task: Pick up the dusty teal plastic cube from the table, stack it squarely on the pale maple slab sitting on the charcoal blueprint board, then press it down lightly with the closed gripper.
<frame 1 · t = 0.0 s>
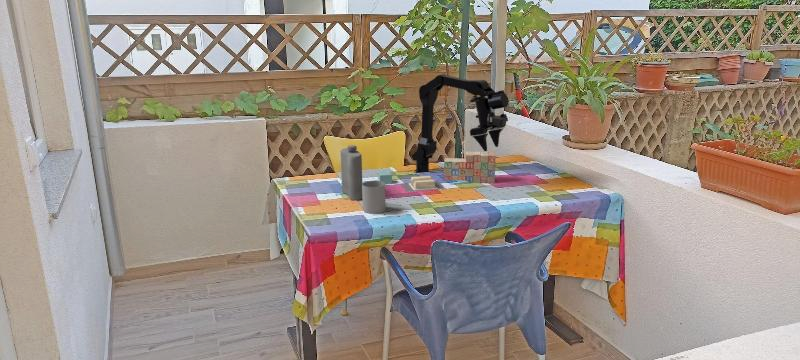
hand: (491, 148, 237), 15 cm above the table, tool pointing down, fingers open, 9 cm apart
stack of blocks: (469, 181, 248), on the table
cup: (374, 210, 213), on the table
flask: (353, 195, 231), on the table
teal cube: (385, 185, 244), on the table
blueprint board: (422, 188, 238), on the table
maple slab: (422, 186, 238), point 1 cm above the table, touching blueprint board
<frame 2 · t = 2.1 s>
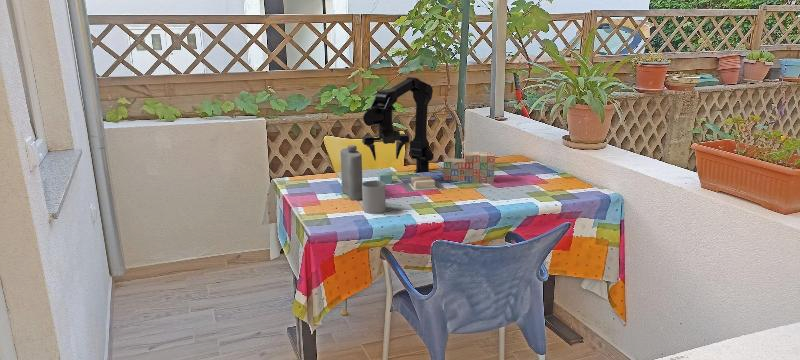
hand: (386, 159, 240), 11 cm above the table, tool pointing down, fingers open, 9 cm apart
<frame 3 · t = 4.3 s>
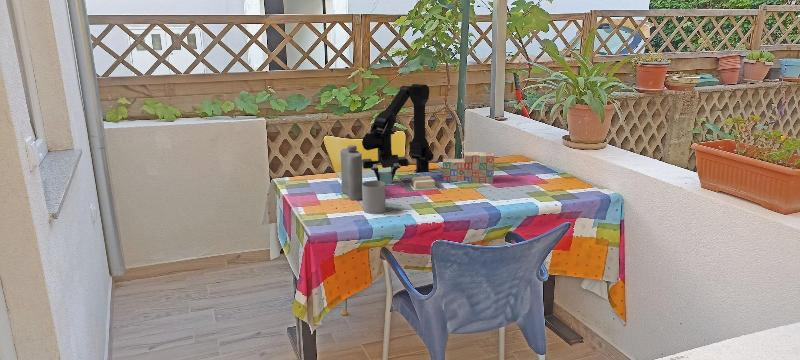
hand: (385, 182, 243), 1 cm above the table, tool pointing down, fingers closed on teal cube, 5 cm apart
teal cube: (385, 184, 244), on the table, touching gripper
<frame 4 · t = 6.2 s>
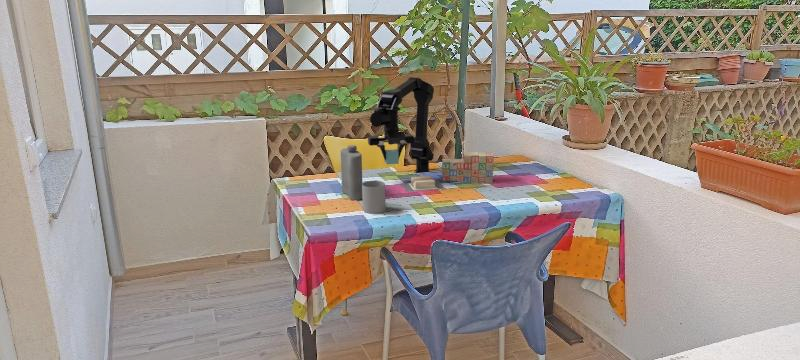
hand: (391, 160, 240), 11 cm above the table, tool pointing down, fingers closed on teal cube, 5 cm apart
teal cube: (391, 162, 240), point 10 cm above the table, touching gripper
when the fingers open (6 cm above the table, at t = 8.2 s): teal cube drops 1 cm, resting on maple slab.
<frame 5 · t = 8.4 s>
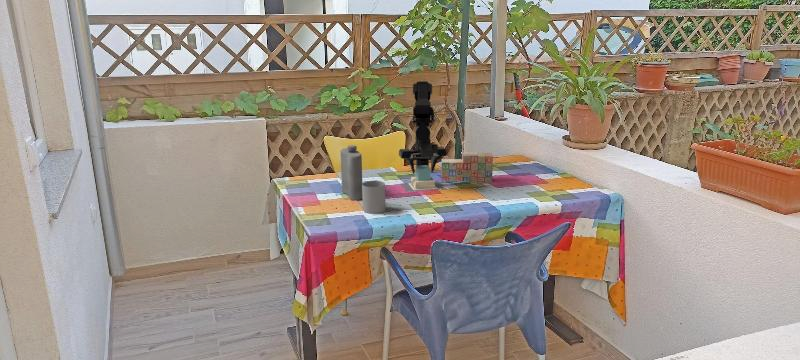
hand: (422, 173, 236), 6 cm above the table, tool pointing down, fingers open, 7 cm apart
teal cube: (422, 179, 237), point 4 cm above the table, touching maple slab
maple slab: (422, 186, 238), point 1 cm above the table, touching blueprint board, teal cube
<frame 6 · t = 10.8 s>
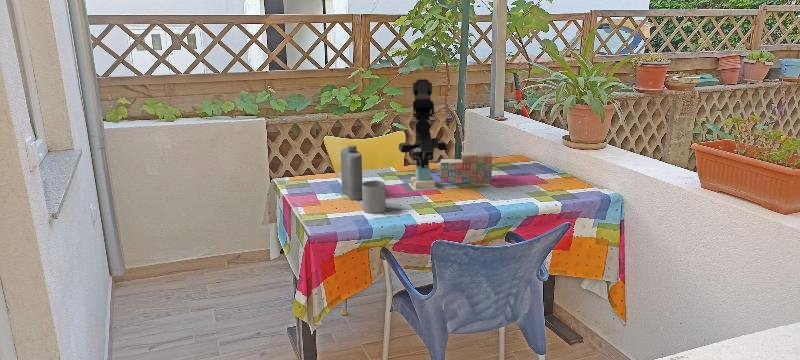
hand: (422, 167, 236), 9 cm above the table, tool pointing down, fingers closed, pressing on teal cube
teal cube: (422, 179, 237), point 4 cm above the table, touching gripper, maple slab
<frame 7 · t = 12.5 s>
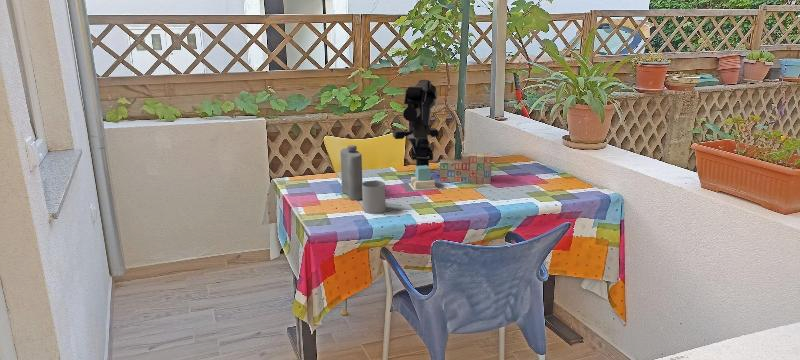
hand: (415, 153, 246), 12 cm above the table, tool pointing down, fingers closed
teal cube: (422, 179, 237), point 4 cm above the table, touching maple slab
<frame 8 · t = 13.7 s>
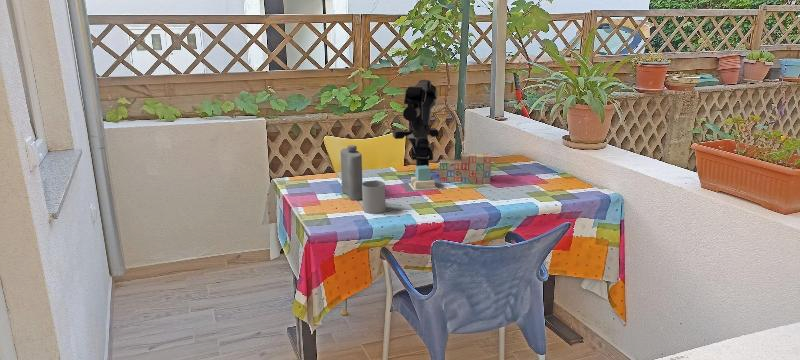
hand: (415, 153, 246), 12 cm above the table, tool pointing down, fingers closed
at the end: teal cube 0.0 cm off-centre on the maple slab, point 3.0 cm above the maple slab's base; teal cube tilted 0°; maple slab moved 0.0 cm from its start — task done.
